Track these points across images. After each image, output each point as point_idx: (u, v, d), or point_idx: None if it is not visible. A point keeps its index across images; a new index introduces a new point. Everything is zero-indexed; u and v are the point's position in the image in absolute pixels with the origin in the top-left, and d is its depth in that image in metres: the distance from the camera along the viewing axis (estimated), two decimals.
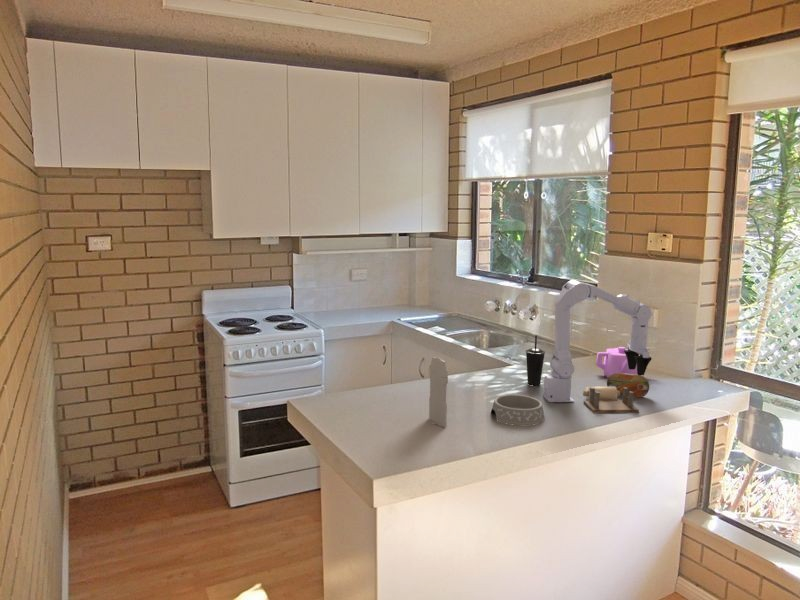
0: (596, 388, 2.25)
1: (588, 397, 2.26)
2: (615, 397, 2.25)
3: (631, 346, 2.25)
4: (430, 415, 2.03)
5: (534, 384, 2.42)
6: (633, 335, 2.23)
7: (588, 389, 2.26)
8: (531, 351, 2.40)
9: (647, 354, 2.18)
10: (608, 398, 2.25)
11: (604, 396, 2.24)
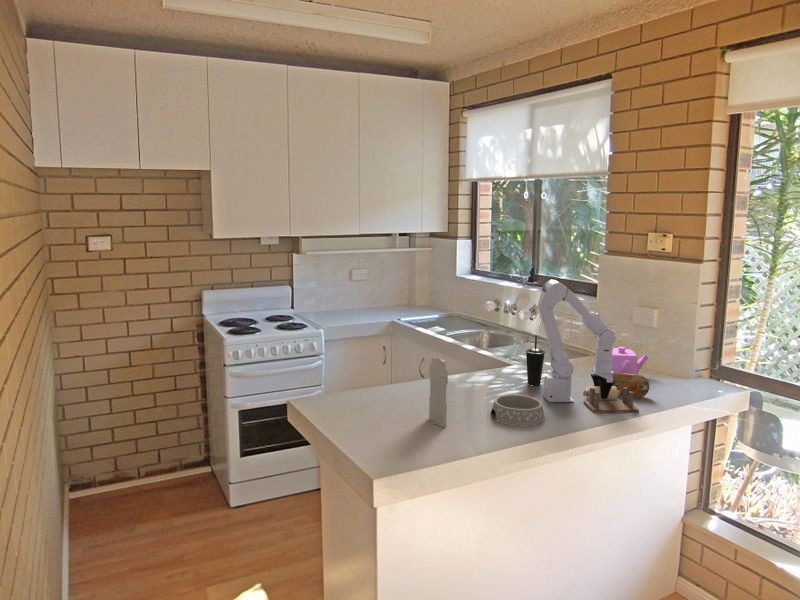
0: (596, 388, 2.25)
1: (588, 397, 2.26)
2: (615, 397, 2.25)
3: (596, 370, 2.24)
4: (430, 415, 2.03)
5: (534, 384, 2.42)
6: (597, 359, 2.23)
7: (588, 389, 2.26)
8: (531, 351, 2.40)
9: (611, 379, 2.18)
10: (608, 398, 2.25)
11: None
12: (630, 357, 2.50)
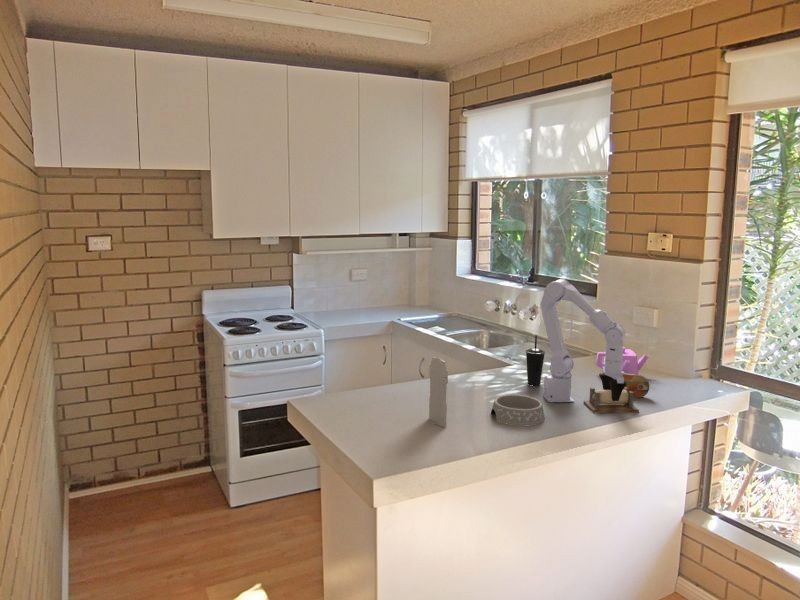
0: (606, 392, 2.16)
1: None
2: (626, 401, 2.16)
3: (605, 370, 2.15)
4: (430, 415, 2.03)
5: (534, 384, 2.42)
6: (605, 358, 2.16)
7: None
8: (531, 351, 2.40)
9: (621, 379, 2.09)
10: (618, 402, 2.16)
11: None
12: (630, 357, 2.50)
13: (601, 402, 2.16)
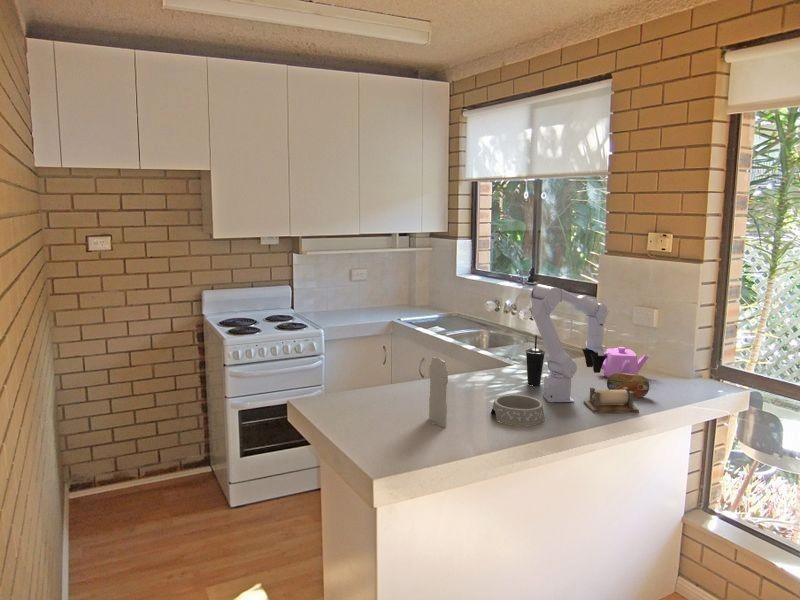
0: (606, 391, 2.16)
1: None
2: (626, 401, 2.16)
3: (588, 344, 2.30)
4: (430, 415, 2.03)
5: (534, 384, 2.42)
6: (592, 334, 2.28)
7: None
8: (531, 351, 2.40)
9: (602, 352, 2.24)
10: (618, 402, 2.16)
11: (614, 400, 2.15)
12: (630, 357, 2.50)
13: (601, 402, 2.16)
